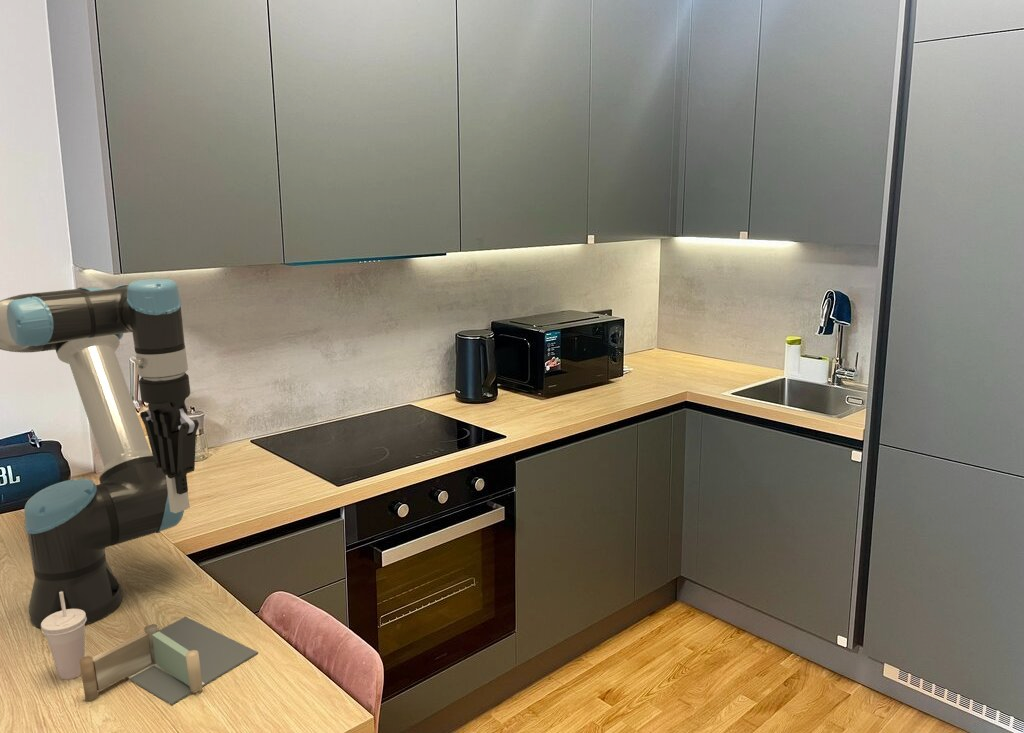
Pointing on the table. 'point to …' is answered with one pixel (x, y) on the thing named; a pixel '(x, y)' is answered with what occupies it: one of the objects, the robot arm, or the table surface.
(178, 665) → the gate panel
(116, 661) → the base
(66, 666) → the smoothie
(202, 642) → the card
